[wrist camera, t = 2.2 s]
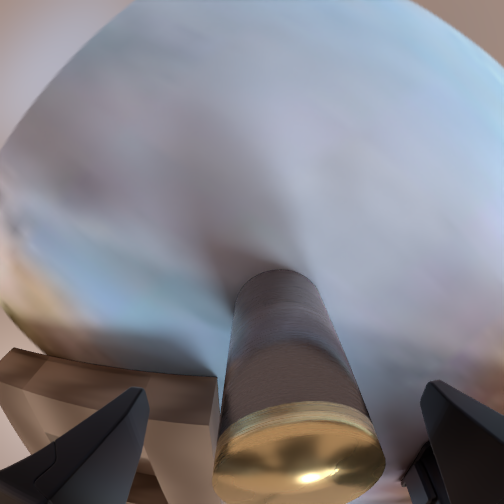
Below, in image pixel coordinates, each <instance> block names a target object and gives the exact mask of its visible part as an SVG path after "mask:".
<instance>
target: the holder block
mask: <svg viewBox="0 0 504 504" xmlns="http://www.w3.org/2000/svg"><path fill="white" fill-rule="evenodd" d="M130 387H140V388H144V390H145V392H146V395H147V399H148V403H149V407H150V413H149V418H148V423H147V428H146V433H145V439H144V444H143V449H142V453H141V457H140V460H139V463H138V466H137V469H136V473H135V476H134V479H133V482H132V485H131V488H130V492H129V495H128V498H127V501H126V504H227V503H226V502H224V501H223V500H222V499H221V498H220V497H219V496H218V495H217V494H216V493H215V491H214V489H213V486H212V476H213V468H214V460H215V452H216V444H217V437H218V429H219V421H220V409H219V397H218V384H217V377H203V376H188V375H175V374H164V373H154V372H145V371H136V370H128V369H121V368H114V367H107V366H101V365H95V364H89V363H83V362H77V361H72V360H67V359H62V358H57V357H52V356H48V355H43V354H39V353H34V352H30V351H26V350H22V349H18V348H13V349H12V350H11V351H9V352H8V353H7V354H6V355H5V356H4V357H3V358H2V359H1V360H0V406H1V407H2V409H3V411H4V413H5V414H6V416H7V418H8V419H9V421H10V423H11V425H12V426H13V428H14V429H15V431H16V432H17V434H18V436H19V437H20V439H21V440H22V442H23V443H24V445H25V446H26V448H27V449H28V451H29V452H30V454H31V455H32V454H34V453H35V452H37V451H39V450H40V449H42V448H43V447H45V446H47V445H48V444H50V443H51V442H53V441H55V440H56V439H57V438H59V437H60V436H62V435H63V434H64V433H66V432H67V431H69V430H70V429H72V428H73V427H75V426H76V425H78V424H79V423H80V422H82V421H83V420H85V419H86V418H88V417H89V416H91V415H92V414H93V413H95V412H96V411H98V410H99V409H101V408H102V407H103V406H105V405H106V404H108V403H109V402H110V401H112V400H113V399H115V398H116V397H117V396H119V395H120V394H122V393H123V392H124V391H126V390H127V389H129V388H130Z"/></svg>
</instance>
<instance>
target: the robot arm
mask: <svg viewBox="0 0 504 504" xmlns="http://www.w3.org/2000/svg"><path fill="white" fill-rule="evenodd" d="M420 406H421V410H422V413H423V417H424V421H425V425H426V429H427V433H428V437H429V440H430V441H429V442H428V443H426V444H425V445H424V446H423V448H422V450H421V451H420V453H419V455H418V456H417V458H416V460H415V461H414V463H413V465H412V466H411V468H410V469H409V471H408V472H407V474H406V476H405V477H404V479H403V480H402V482H401V485H402V487H407V489H408V492H409V494H410V497H411V500H412V503H413V504H504V416H503V415H502V414H500V413H498V412H496V411H494V410H493V409H491V408H489V407H487V406H485V405H484V404H482V403H480V402H478V401H476V400H475V399H473V398H471V397H469V396H467V395H466V394H464V393H462V392H460V391H459V390H457V389H455V388H453V387H452V386H450V385H448V384H446V383H445V382H443V381H441V380H433V381H429V382H428V383H427V385H426V387H425V390H424V392H423V395H422V397H421V401H420ZM149 413H150V407H149V403H148V399H147V395H146V392H145V390H144V388H140V387H130V388H129V389H127V390H126V391H124V392H123V393H122V394H120V395H119V396H117V397H116V398H115V399H113V400H112V401H110V402H109V403H108V404H106V405H105V406H103V407H102V408H101V409H99V410H98V411H96V412H95V413H93V414H92V415H91V416H89V417H88V418H86V419H85V420H83V421H82V422H80V423H79V424H78V425H76V426H75V427H73V428H72V429H70V430H69V431H67V432H66V433H64V434H63V435H62V436H60V437H59V438H57V439H56V440H55V441H53V442H51V443H50V444H48V445H47V446H45V447H43V448H42V449H40V450H39V451H37V452H35V453H34V454H32V455H30V456H28V457H27V458H25V459H23V460H21V461H19V462H17V463H15V464H13V465H11V466H9V467H7V468H4V469H2V470H0V504H126V501H127V498H128V495H129V492H130V488H131V485H132V482H133V479H134V476H135V473H136V469H137V466H138V463H139V460H140V457H141V453H142V449H143V444H144V439H145V433H146V428H147V423H148V418H149Z"/></svg>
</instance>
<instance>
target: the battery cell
mask: <svg viewBox="0 0 504 504" xmlns="http://www.w3.org/2000/svg"><path fill="white" fill-rule="evenodd" d="M384 469H385V457H384V454H383V451H382V448H381V446H380V443H379V440H378V437H377V435H376V432H375V429H374V427H373V424H372V421H371V419H370V416H369V413H368V411H367V408H366V406H365V403H364V400H363V398H362V395H361V393H360V390H359V388H358V385H357V383H356V380H355V378H354V375H353V373H352V370H351V368H350V365H349V363H348V360H347V358H346V355H345V353H344V350H343V348H342V346H341V343H340V341H339V338H338V336H337V334H336V331H335V329H334V326H333V324H332V322H331V319H330V317H329V315H328V312H327V310H326V308H325V305H324V303H323V301H322V298H321V296H320V294H319V292H318V290H317V288H316V287H315V285H314V284H313V283H312V282H311V281H310V280H309V279H308V278H306V277H305V276H303V275H301V274H299V273H296V272H293V271H289V270H272V271H267V272H264V273H261V274H259V275H257V276H255V277H254V278H252V279H251V280H249V281H248V282H247V283H246V284H245V285H244V286H243V288H242V289H241V290H240V292H239V294H238V296H237V299H236V303H235V309H234V316H233V323H232V331H231V338H230V346H229V353H228V360H227V368H226V375H225V383H224V390H223V398H222V406H221V413H220V421H219V429H218V437H217V444H216V452H215V460H214V468H213V476H212V486H213V489H214V491H215V493H216V494H217V495H218V496H219V497H220V498H221V499H222V500H223V501H224V502H226V503H227V504H346V503H348V502H350V501H352V500H354V499H356V498H357V497H359V496H361V495H362V494H364V493H365V492H366V491H368V490H369V489H370V488H371V487H372V486H373V485H374V484H375V483H376V482H377V481H378V480H379V478H380V477H381V476H382V474H383V471H384Z"/></svg>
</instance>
